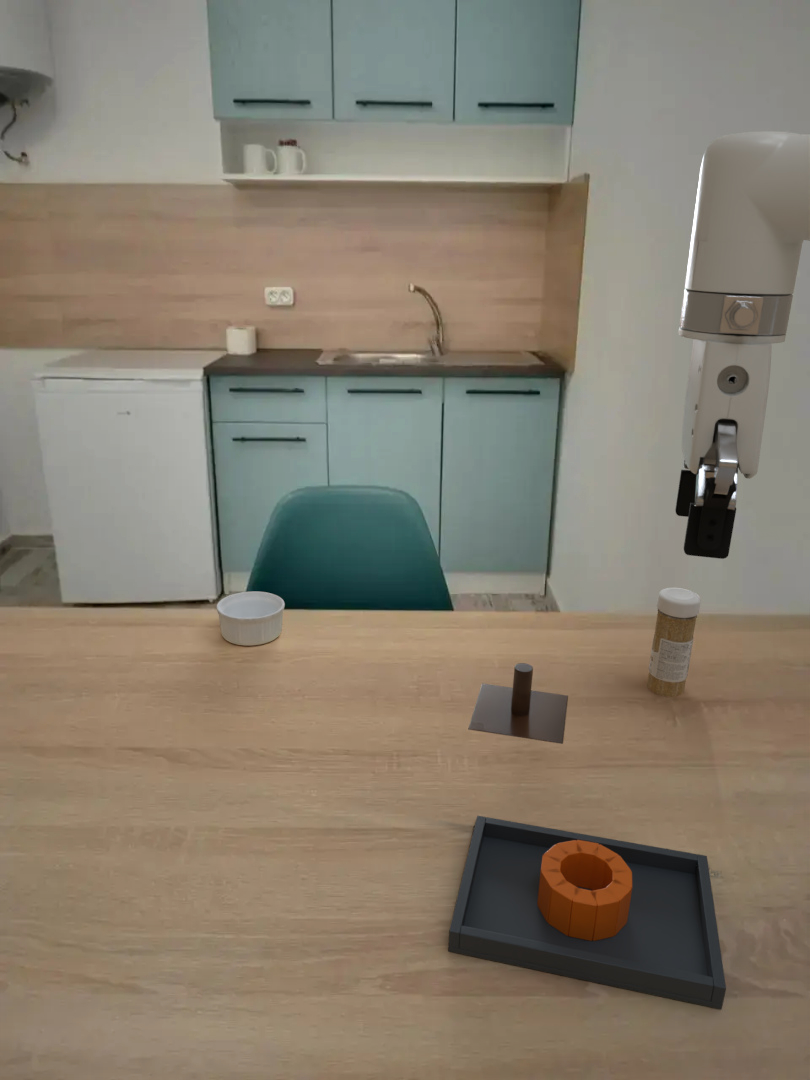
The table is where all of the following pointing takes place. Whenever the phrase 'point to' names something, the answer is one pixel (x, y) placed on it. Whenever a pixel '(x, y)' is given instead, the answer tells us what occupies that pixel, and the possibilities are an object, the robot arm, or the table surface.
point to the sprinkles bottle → (672, 641)
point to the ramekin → (251, 617)
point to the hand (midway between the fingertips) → (699, 534)
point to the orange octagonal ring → (584, 890)
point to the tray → (621, 961)
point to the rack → (520, 709)
